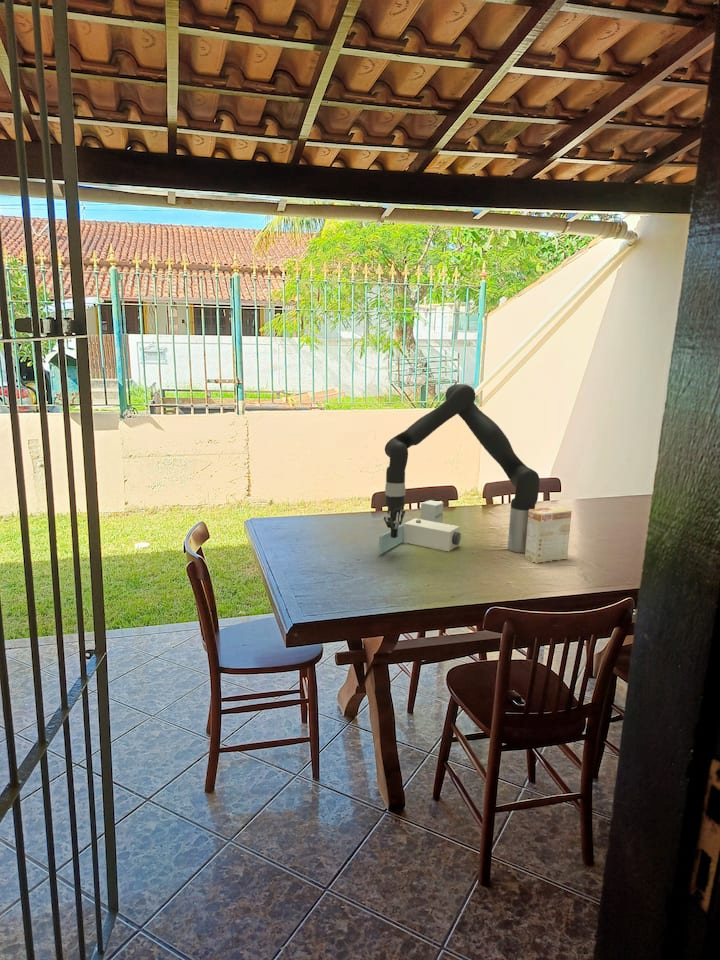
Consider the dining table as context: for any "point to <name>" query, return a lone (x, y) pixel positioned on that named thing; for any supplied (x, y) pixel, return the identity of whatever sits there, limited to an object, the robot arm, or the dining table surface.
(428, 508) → the supplement box
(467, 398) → the robot arm
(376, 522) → the dining table surface
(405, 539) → the camera housing
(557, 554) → the coffeecake box
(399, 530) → the door
